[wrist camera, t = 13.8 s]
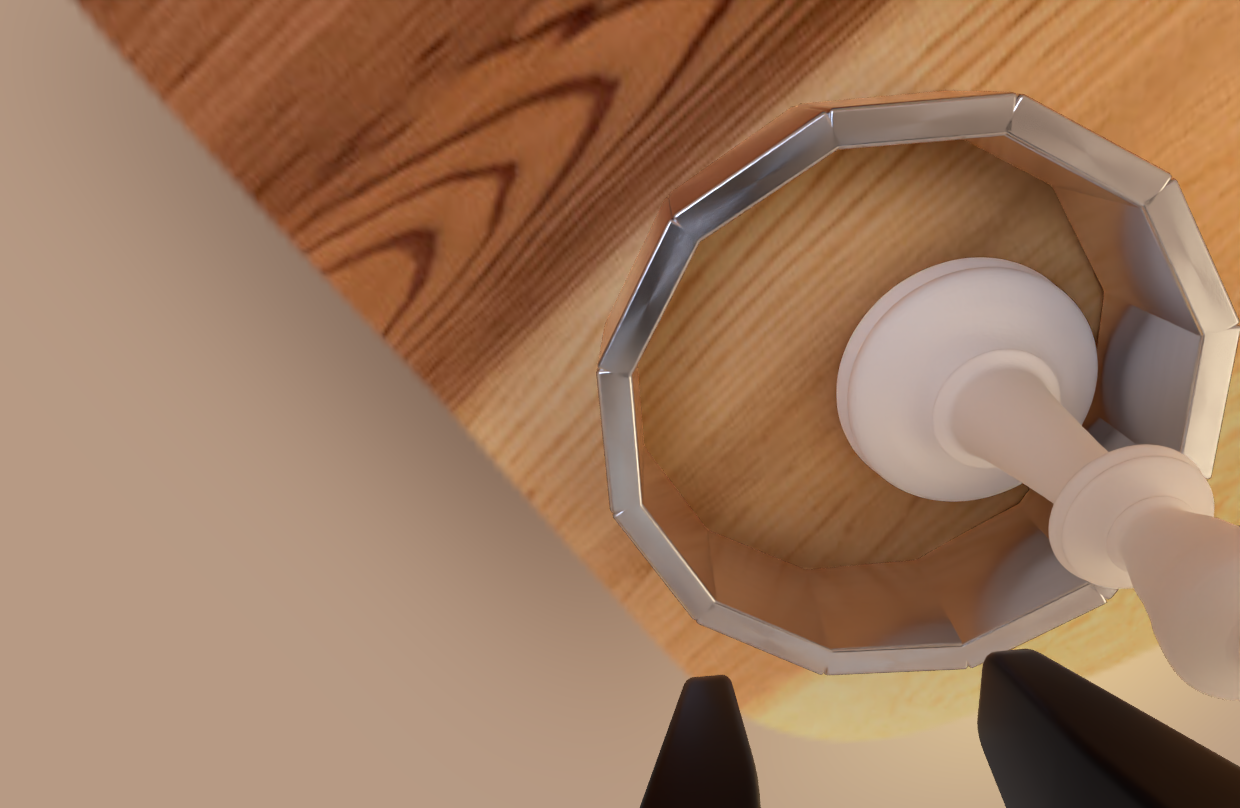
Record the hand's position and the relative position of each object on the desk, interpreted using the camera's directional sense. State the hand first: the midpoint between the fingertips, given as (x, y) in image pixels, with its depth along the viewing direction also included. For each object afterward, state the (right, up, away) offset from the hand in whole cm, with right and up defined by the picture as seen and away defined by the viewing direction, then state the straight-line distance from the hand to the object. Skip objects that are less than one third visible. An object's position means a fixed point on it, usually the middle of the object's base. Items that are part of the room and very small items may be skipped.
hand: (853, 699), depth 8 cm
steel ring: (+3, +4, +9) cm, 10 cm away
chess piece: (+5, +3, +9) cm, 10 cm away
